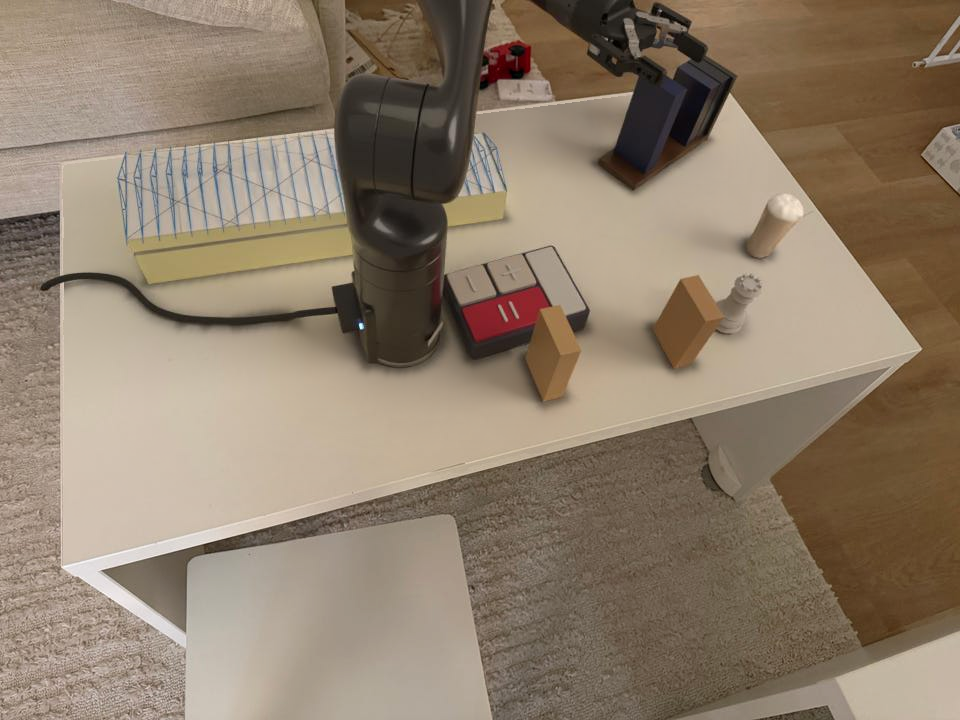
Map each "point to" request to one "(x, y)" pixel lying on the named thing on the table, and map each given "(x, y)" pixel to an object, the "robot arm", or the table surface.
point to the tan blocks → (676, 329)
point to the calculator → (511, 299)
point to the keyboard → (261, 205)
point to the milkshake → (774, 224)
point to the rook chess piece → (738, 303)
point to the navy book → (649, 122)
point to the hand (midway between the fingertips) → (684, 67)
